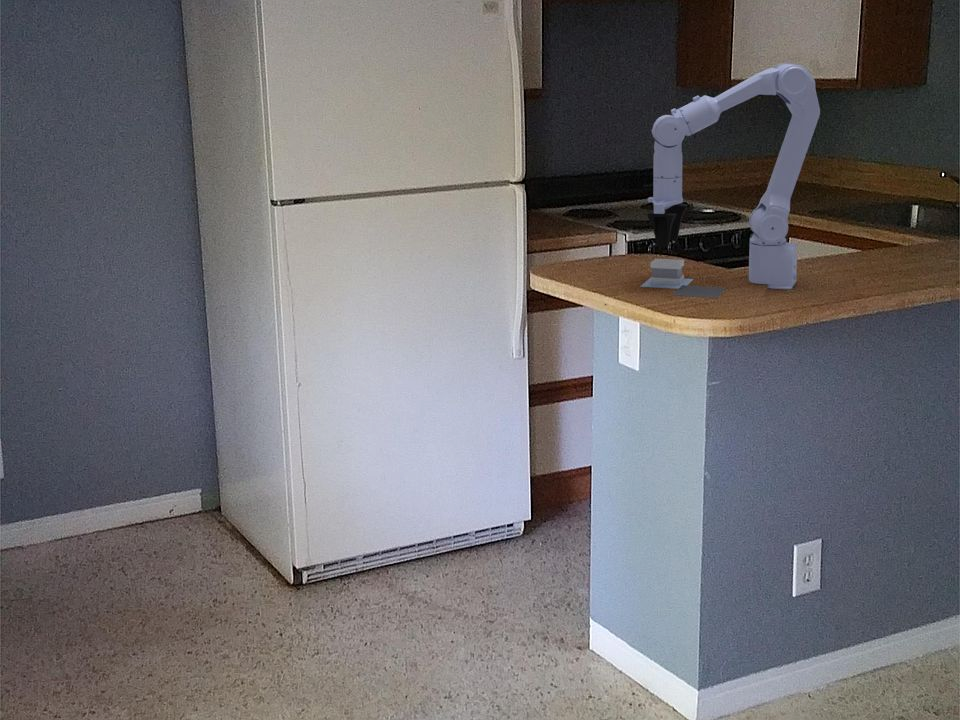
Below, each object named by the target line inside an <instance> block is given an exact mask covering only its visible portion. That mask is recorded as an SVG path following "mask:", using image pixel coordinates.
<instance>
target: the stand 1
mask: <svg viewBox="0 0 960 720" xmlns="http://www.w3.org/2000/svg"><path fill="white" fill-rule="evenodd" d="M694 280H695V279H694V278H684V282H683V283H682V284H681V285H679V286H676V285H657V284H650V278H648V279H647V280H646V281H645V282H643V284H641V285H640V286H639V287H640V288H657V289H658V288H659V289H674V290H675V289H676V290H678V289H679V288H680V287H681V286H683V285H684V286H683V287H684V288H685V285H687V286H689V285H690V284H691V283H692V281H694ZM681 288H682V287H681Z"/></svg>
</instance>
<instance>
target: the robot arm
mask: <svg viewBox="0 0 960 720" xmlns="http://www.w3.org/2000/svg"><path fill="white" fill-rule="evenodd" d="M759 95H765V96H776V95H777V96H778V97H779V98H781V99H782V100H783V101H784V103H785V105H786V107H787V108H788V110H789V112H790V113H791V118H790V121H789V123H788V127H787V129H786V132H785V136H784V139H783V141H782V144H781V147H780V150H779V152H778V155H777V159H776V162H775V164H774V168H773V170H772V173H771V176H770V178H769V182H768V184H767V188H766V190H765V192H764V193H763V195H762V197H761V198H760V200H759V203H758V205H757V206H756V208H754V209H753V210H752V211H751V213H750V215H749V219H748V224H749V225H748V226H749V228H750V230H751V231H752V232H753V234H752V235H751V237H750V238H749V254H748V256H749V257H748V282H750V283H754V284H757V285H766V287H765V289H772V290H773V289H774V290H775V289H777V290H792V289H793V287H794V286H795V284H796V283H797V281H798V280H797V276H798V275H797V268H798V267H797V266H798V245H797V243H795V242H794V243H793V242H788V241H787V238H786V236H787V234H788V231H789V222H788V219H789V215H790V212H791V198H792V195H793V192H794V190H795V187H796V184H797V181H798V178H799V175H800V173H801V170H802V167H803V164H804V161H805V158H806V155H807V153H808V150H809V146H810V144H811V141H812V139H813V135H814V132H815V129H816V127H817V125H818V121H819V119H820V116H821V108H820V103H819V99H818V95H817V90H816V81H815V79H814V77H813V75H812V74H810V72H809V70H808V69H807V68H806V67H804V66H803V65H799V64H794V63H791V62H782V63H778V64H777V65H776V66H774V67H770V68H767V69H765V70H762V71H760V72H757V73H756V74H754V75H752V76H751V77H748V78H747V79H745V80H743V81H741V82H740V83H737V84H736V85H734V86H733V87H730V88H729V89H727V90H726V91H724V92H722V93H720V94H718V95H716V96H715V97H712V96H708V95H706V94H705V95H702V96H701V97H700V96H699V95H696V96H694V97H692V101H691V102H689V103H687V104H686V105H684V106H681V107H679V108H677V109H676V108H672V109H671V110H670V112H671V114H664V115H661V116H660V117H658V118H657V119H656V120H655V121H654V122H653V125H652V129H651V134H652V137H653V139H654V144H653V149H654V153H653V167H652V168H653V170H652V171H653V172H652V173H653V175H652V176H653V178H652V179H653V188H652V189H653V193H652V194H653V195H652V196H649V197H648V198H647V202H648V203H652V205H653V210H651V211H650V210H649V211H648V212H646V214H647V219H648V220H649V222H650V224H651V227H652V229H653V234H654V239H655V243H656V246H657V248H668V247H669V244H670V241H677V240H678V238H679V233H680V230H681V225H682V220H683V218H684V215H685V212H686V211H687V209H688V204H686V203H684V198H683V152H682V150H683V149H682V146H683V145H682V144H683V143H682V142H683V141H684V139H685V136H687V137H690V136H692V135H694V134H696V133H697V132H699V131H702V130H704V129H705V128H707V127H709V126H712V125H713V124H715V123H717V122H718V121H719V119H720V116H721V114H722V113H723V112H724V111H727V110H729V109H730V108H733V107H735V106H738V105H739V104H742V103H744V102H746V101H749V100H750V99H752V98H754V97H757V96H759Z"/></svg>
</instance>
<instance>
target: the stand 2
mask: <svg viewBox="0 0 960 720" xmlns="http://www.w3.org/2000/svg"><path fill="white" fill-rule="evenodd" d="M683 286H684V285H683ZM683 286H681V287H682V288H681V287H680V288H679V289H676V290H675V291H674V292H673V293H672V294H671V296H672V297H689V298H708V299H718V298H719V297H720V296H721V294H723V292H724V291H725V290H726V289H727V287H726V286H725V287H722V286H704V285H703V286H701V285H685V288H684V287H683Z"/></svg>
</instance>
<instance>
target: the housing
mask: <svg viewBox="0 0 960 720" xmlns="http://www.w3.org/2000/svg"><path fill="white" fill-rule="evenodd" d="M649 264H650V269H652V272H651V273H652V276H651V277H650V278H649V279H650V284H657V285H676V286H679V285H681V284H682V283H683V282H684V279H685V275H684V274H683V267H684V266H685V260H684V259H675V258H673V259H672V258H669V259H668V258H655V259H653V260H652V261H651V262H650V263H649Z"/></svg>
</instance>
